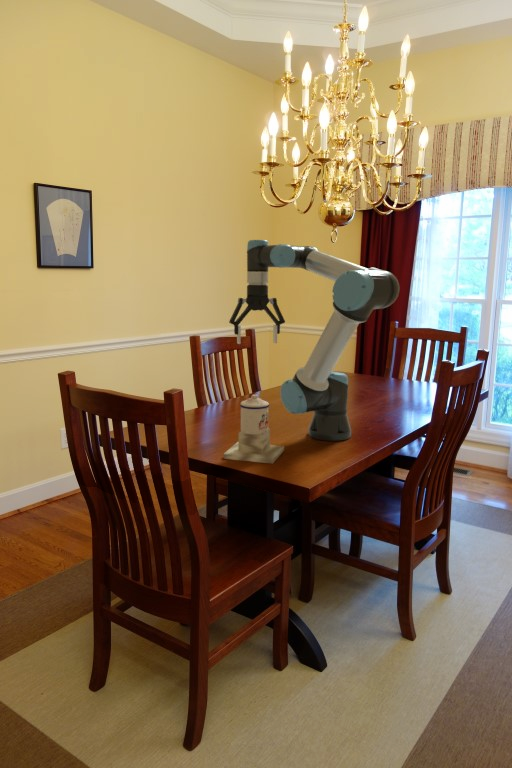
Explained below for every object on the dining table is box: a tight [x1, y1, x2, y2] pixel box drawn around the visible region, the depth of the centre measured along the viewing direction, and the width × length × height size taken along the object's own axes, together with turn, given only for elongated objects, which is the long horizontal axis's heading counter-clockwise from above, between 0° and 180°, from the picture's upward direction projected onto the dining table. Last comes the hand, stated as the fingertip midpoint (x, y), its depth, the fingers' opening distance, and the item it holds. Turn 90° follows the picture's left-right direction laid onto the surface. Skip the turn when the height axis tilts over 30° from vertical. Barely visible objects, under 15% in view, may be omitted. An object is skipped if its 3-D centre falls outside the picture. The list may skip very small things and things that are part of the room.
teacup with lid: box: [239, 394, 270, 435], centre depth 183 cm, size 12×9×12 cm
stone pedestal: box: [222, 427, 285, 465], centre depth 185 cm, size 16×14×8 cm
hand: (257, 343), depth 213 cm, fingers open, 13 cm apart
